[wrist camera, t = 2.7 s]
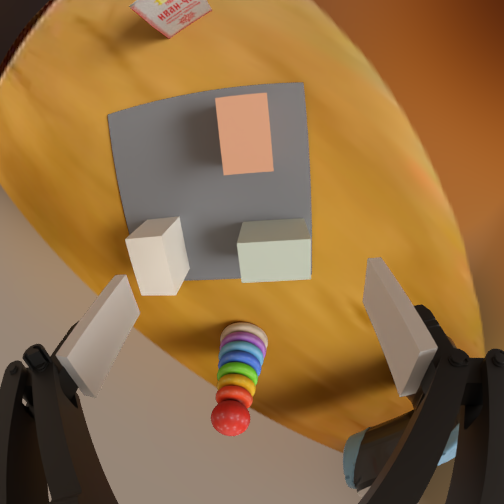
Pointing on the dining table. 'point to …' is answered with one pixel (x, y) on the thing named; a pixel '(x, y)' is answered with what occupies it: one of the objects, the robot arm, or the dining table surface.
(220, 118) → the terracotta brick
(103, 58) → the dining table surface
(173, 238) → the cream brick
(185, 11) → the ivan-chai tea box
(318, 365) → the dining table surface
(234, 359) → the stacking toy
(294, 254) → the sage brick
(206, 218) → the charcoal mat
